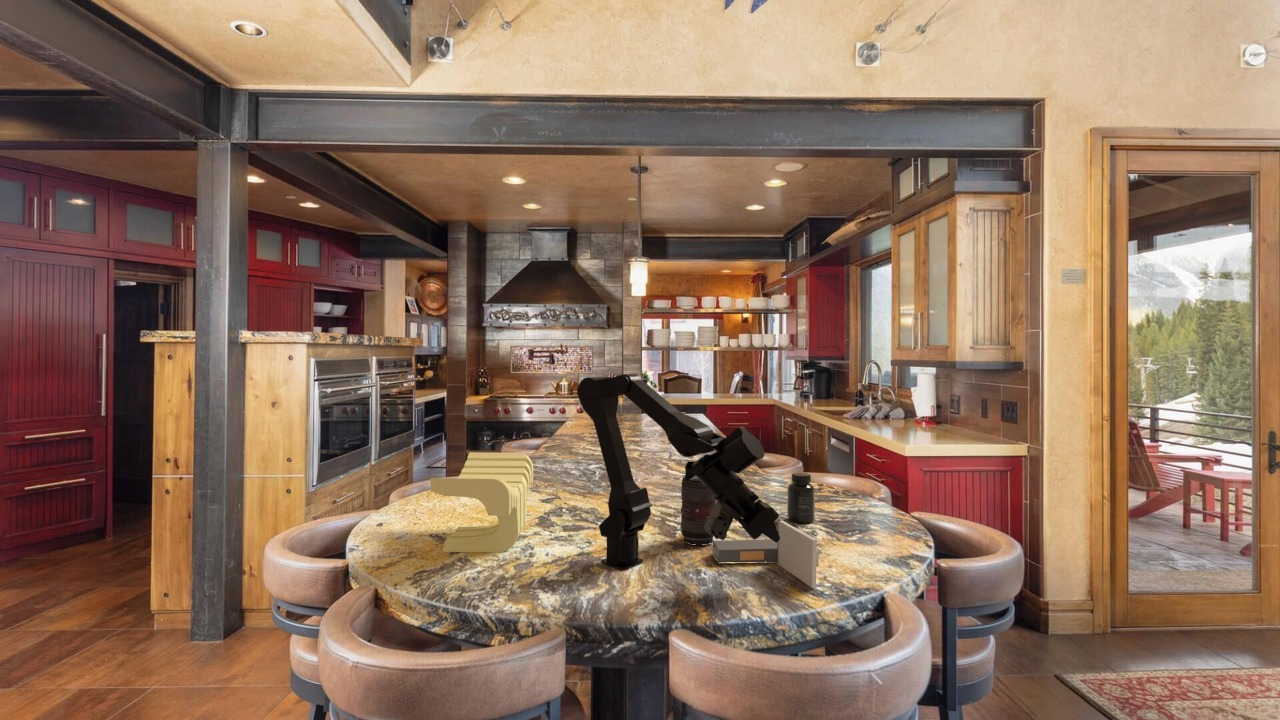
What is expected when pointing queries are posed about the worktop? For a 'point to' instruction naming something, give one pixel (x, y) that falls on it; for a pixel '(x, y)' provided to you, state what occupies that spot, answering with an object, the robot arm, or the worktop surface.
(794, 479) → the supplement bottle
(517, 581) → the worktop surface
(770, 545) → the grey rectangular box
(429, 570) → the worktop surface
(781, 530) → the side door
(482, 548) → the slatted curved stool
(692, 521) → the camera lens
